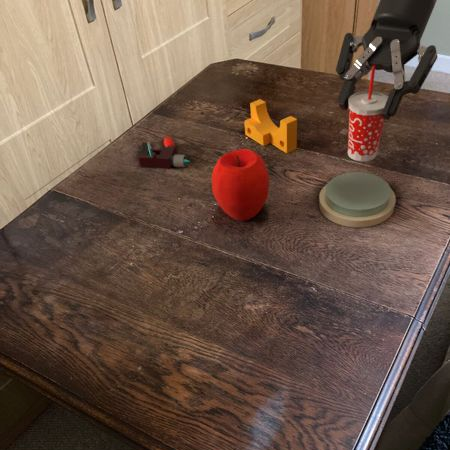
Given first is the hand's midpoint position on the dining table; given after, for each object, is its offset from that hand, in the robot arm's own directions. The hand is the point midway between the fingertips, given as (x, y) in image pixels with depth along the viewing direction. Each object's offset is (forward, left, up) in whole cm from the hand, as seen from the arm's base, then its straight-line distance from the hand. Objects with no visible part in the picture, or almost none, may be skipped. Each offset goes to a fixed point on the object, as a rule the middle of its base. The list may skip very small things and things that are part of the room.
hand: (363, 112), depth 73 cm
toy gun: (+41, +2, -18) cm, 45 cm away
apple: (+16, +10, -18) cm, 26 cm away
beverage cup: (0, -2, -8) cm, 8 cm away
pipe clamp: (+25, -13, -18) cm, 33 cm away
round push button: (0, -2, -18) cm, 18 cm away
